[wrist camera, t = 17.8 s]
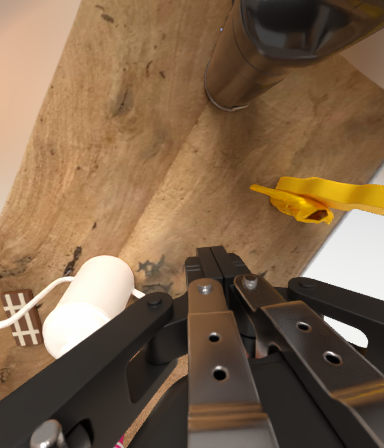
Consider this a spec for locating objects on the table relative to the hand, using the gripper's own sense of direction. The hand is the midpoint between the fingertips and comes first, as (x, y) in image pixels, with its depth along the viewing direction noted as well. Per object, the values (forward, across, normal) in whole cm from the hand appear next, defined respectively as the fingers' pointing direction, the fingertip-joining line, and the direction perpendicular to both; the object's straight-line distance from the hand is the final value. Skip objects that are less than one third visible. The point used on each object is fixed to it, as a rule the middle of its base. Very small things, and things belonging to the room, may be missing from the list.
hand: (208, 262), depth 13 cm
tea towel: (+31, +34, +23) cm, 51 cm away
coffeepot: (+31, +16, +16) cm, 39 cm away
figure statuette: (+31, -21, +2) cm, 38 cm away
